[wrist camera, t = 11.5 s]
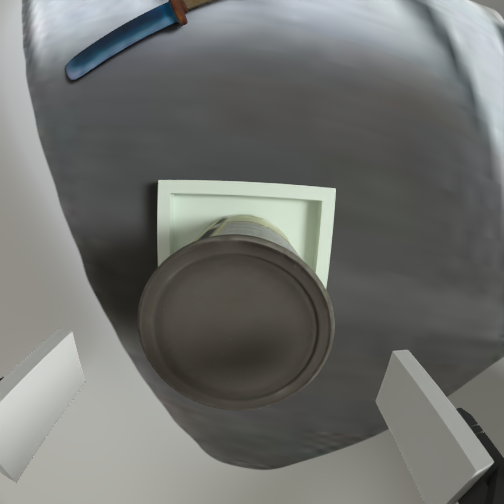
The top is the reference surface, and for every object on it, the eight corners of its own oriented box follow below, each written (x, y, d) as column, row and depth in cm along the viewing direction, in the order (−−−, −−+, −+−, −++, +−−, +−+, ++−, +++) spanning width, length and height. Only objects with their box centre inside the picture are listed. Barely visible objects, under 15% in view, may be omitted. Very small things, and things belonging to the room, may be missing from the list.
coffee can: (282, 324, 29) (302, 420, 15) (183, 304, 29) (135, 388, 15) (308, 225, 27) (361, 261, 13) (200, 202, 27) (146, 216, 13)
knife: (59, 86, 22) (58, 58, 22) (74, 95, 25) (72, 67, 25) (270, -16, 19) (252, -37, 18) (272, 2, 22) (255, -20, 21)
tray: (164, 180, 27) (158, 180, 25) (330, 188, 27) (335, 188, 25) (167, 331, 30) (162, 339, 28) (313, 339, 30) (316, 348, 28)
